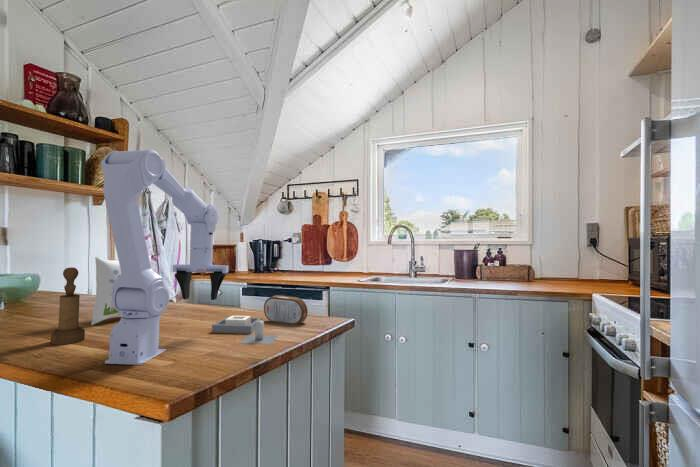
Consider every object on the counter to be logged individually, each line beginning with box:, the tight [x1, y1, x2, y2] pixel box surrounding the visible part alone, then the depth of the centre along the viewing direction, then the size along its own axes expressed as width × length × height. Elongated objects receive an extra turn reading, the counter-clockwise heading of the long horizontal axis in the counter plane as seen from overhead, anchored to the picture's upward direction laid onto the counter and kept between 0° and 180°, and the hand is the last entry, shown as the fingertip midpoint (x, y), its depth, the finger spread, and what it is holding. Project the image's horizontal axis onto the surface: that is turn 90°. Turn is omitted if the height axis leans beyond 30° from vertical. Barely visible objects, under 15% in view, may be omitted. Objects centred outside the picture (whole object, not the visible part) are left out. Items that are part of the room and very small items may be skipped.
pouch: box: [90, 254, 152, 326], centre depth 114 cm, size 8×19×20 cm, turn 157°
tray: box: [211, 316, 263, 335], centre depth 103 cm, size 11×11×3 cm
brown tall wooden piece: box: [50, 267, 86, 346], centre depth 89 cm, size 7×6×18 cm
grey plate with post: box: [238, 319, 279, 345], centre depth 92 cm, size 8×8×5 cm
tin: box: [263, 294, 309, 325], centre depth 114 cm, size 15×3×8 cm, turn 66°
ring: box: [225, 315, 252, 325], centre depth 103 cm, size 6×6×3 cm
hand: (199, 299), depth 99 cm, fingers open, 7 cm apart
